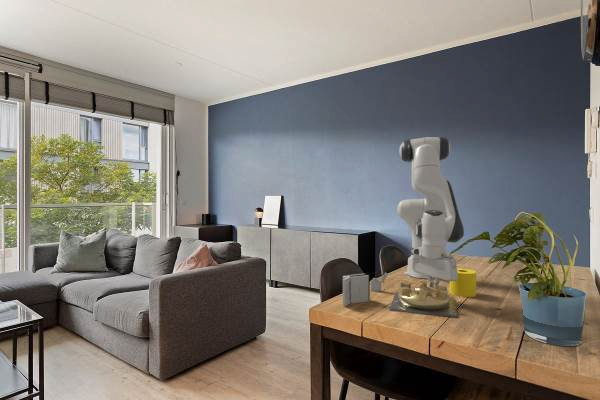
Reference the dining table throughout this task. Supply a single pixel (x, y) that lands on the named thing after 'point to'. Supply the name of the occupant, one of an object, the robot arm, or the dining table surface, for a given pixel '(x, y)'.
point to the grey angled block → (377, 283)
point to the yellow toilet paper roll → (464, 283)
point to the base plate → (448, 311)
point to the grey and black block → (356, 288)
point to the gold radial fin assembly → (423, 296)
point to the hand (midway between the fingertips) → (433, 287)
